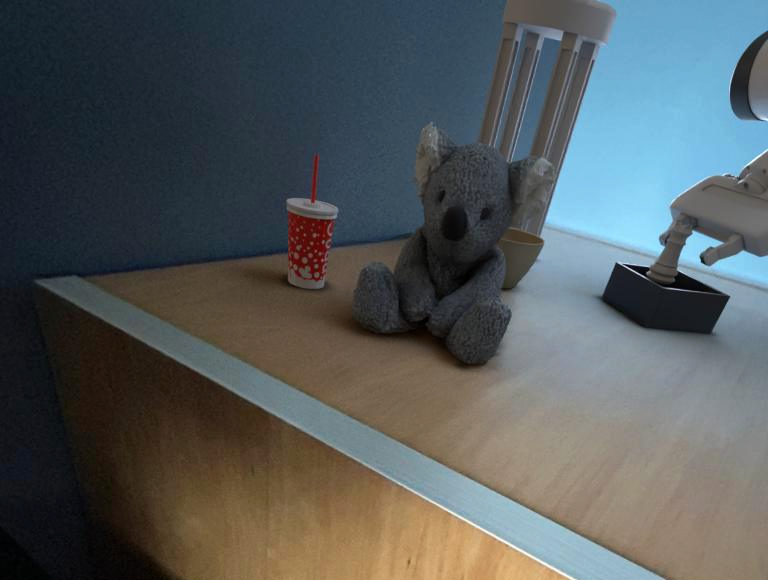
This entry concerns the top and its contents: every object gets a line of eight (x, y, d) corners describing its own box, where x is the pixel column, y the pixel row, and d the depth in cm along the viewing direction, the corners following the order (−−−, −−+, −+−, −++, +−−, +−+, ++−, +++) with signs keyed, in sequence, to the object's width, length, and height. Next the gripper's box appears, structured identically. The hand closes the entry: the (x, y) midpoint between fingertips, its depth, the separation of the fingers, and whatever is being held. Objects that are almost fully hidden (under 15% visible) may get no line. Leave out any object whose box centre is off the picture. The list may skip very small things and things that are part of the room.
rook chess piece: (674, 287, 86) (701, 230, 81) (644, 279, 86) (669, 222, 81) (673, 280, 89) (698, 225, 84) (644, 272, 90) (668, 217, 85)
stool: (516, 272, 95) (600, -6, 74) (437, 246, 100) (494, -20, 79) (547, 261, 106) (627, 16, 85) (474, 237, 111) (532, 2, 90)
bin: (662, 304, 95) (678, 270, 92) (710, 333, 86) (730, 296, 83) (601, 297, 92) (615, 261, 88) (644, 327, 83) (662, 288, 79)
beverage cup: (311, 294, 69) (323, 162, 60) (271, 279, 71) (277, 148, 62) (339, 285, 73) (354, 161, 65) (301, 271, 75) (310, 149, 67)
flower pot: (483, 269, 93) (496, 221, 89) (538, 288, 89) (554, 240, 85) (454, 277, 86) (466, 226, 82) (512, 298, 82) (528, 246, 78)
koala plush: (339, 327, 62) (366, 112, 50) (396, 290, 76) (428, 115, 64) (489, 375, 59) (557, 157, 47) (520, 328, 73) (578, 150, 61)
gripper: (716, 153, 85) (635, 216, 88) (829, 178, 70) (725, 253, 73) (724, 190, 89) (645, 249, 92) (832, 222, 74) (734, 291, 77)
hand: (681, 251), depth 83 cm, fingers open, 8 cm apart
